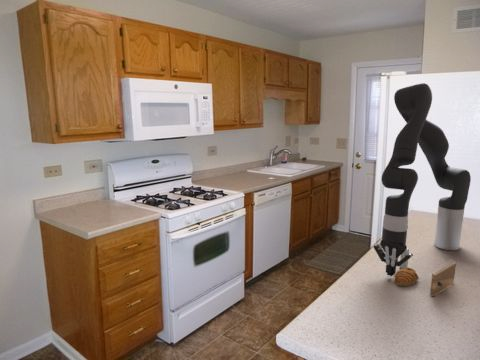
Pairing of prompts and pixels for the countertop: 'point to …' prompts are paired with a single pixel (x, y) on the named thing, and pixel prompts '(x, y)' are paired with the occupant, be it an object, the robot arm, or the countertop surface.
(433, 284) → the door
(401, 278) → the pastry
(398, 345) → the countertop surface
